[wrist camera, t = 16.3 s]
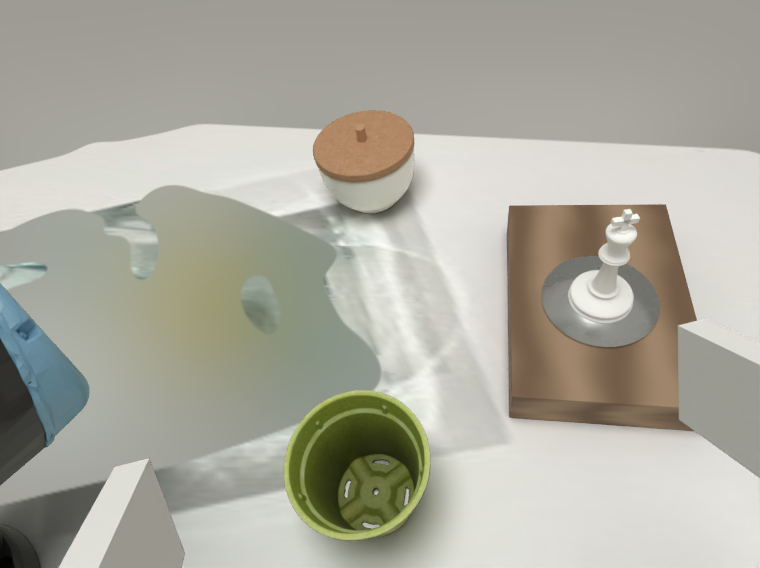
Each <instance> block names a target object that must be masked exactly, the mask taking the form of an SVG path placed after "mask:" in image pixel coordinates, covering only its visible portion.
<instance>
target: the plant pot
mask: <svg viewBox="0 0 760 568" xmlns="http://www.w3.org/2000/svg"><path fill="white" fill-rule="evenodd" d="M375 460H386V461H388V462H389V463H390V464H389V465H388V466H386V465H383V464H376V463H373V462H374V461H375ZM429 474H430V449H429V444H428V440H427V437H426V434H425V431H424V429H423V427H422V425H421V423H420V422H419V420H418V419H417V417H416V416H415V415H414V414H413V412H412V411H411V410H410V409H409V408H408V407H407V406H406V405H404V404H403V403H402V402H400V401H399V400H397V399H395V398H393V397H391V396H389V395H387V394H383V393H380V392H376V391H368V390H367V391H366V390H364V391H363V390H358V391H350V392H346V393H342V394H339V395H336V396H333V397H331V398H329V399H327V400H325V401H324V402H322V403H320V404H319V405H318V406H316V407H315V408H314V409H312V410H311V411H310V412H309V413H308V414H307V415H306V417H305V418H304V419H303V420H302V421H301V423H300V424H299V425H298V427H297V428H296V430H295V431H294V433H293V435H292V437H291V439H290V442H289V445H288V448H287V452H286V455H285V462H284V482H285V488H286V491H287V494H288V497H289V500H290V502H291V504H292V506H293V508H294V510H295V512H296V513H297V514H298V516H299V517H300V518H301V519H302V520H303V521H304V522H305V523H306V524H307V525H308V526H309V527H311V528H312V529H314V530H315V531H317V532H319V533H321V534H323V535H325V536H328V537H331V538H334V539H339V540H347V541H355V540H364V539H369V538H373V537H378V536H384V535H387V534H390V533H392V532H394V531H395V530H397V529H398V528H399V527H401V526H402V525H403V524H404V523H405V522H406V520H407V519H408V518H409V516H410V514H411V513H412V511H413V510H414V509H415V508H416V506H417V505H418V503H419V502H420V500H421V498H422V496H423V494H424V491H425V489H426V486H427V483H428V479H429ZM347 480H350V481H351V483H350V486H349V491H348V497H347V498H345V497H344V491H345V484H346V482H347ZM406 487H407V488H408V489H409V501H408V504H407V505H406V506H403V503H404V498H405V488H406ZM375 488H377V489H378V490H379V493H378V494H377V495H374V494H373V489H375ZM362 522H367V523H370V524H379V525H380V526H379V527H377V528H374V529H371V528H366V527H364V526H363V525H362Z"/></svg>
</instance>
